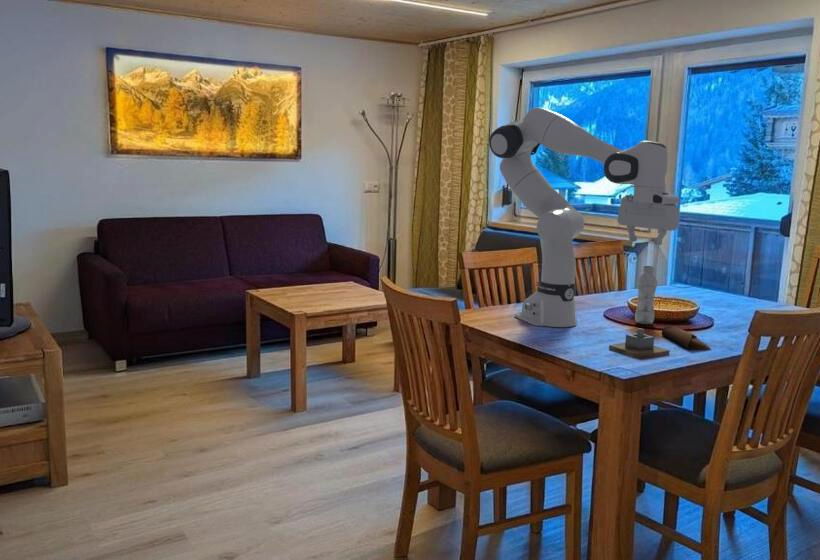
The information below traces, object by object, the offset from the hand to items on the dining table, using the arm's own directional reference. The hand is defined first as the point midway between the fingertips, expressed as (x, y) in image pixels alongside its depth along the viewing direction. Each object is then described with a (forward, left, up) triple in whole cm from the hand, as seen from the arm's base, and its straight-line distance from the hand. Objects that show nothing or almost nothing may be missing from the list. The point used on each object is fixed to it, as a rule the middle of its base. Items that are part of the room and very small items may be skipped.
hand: (645, 242), depth 215 cm
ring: (+7, -7, -30) cm, 31 cm away
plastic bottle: (-18, +24, -31) cm, 43 cm away
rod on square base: (+7, -7, -31) cm, 33 cm away
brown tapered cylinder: (+6, +15, -32) cm, 36 cm away
